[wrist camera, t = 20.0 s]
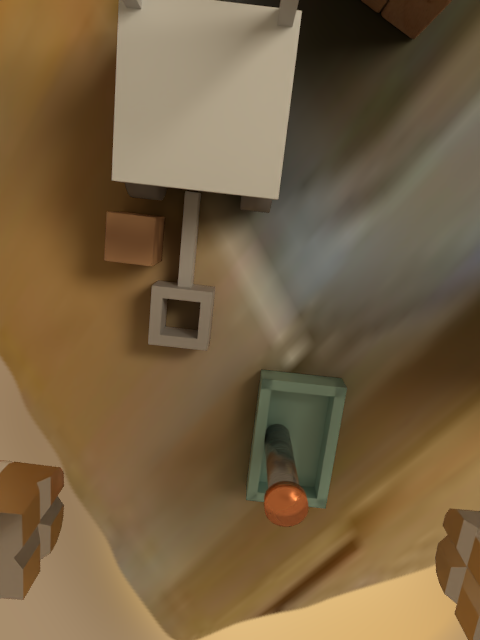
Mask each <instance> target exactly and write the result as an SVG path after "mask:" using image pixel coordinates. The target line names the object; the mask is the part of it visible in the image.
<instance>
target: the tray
mask: <svg viewBox="0 0 480 640" xmlns="http://www.w3.org/2000/svg"><path fill="white" fill-rule="evenodd" d="M346 391H347V387H346V385H345V384H344V382H343V380H342V378H334V377H325V376H316V375H306V374H297V373H288V372H279V371H270V370H261V375H260V383H259V390H258V398H257V406H256V414H255V421H254V429H253V437H252V445H251V452H250V460H249V468H248V476H247V483H246V500H250V501H260V502H264V495H265V493H266V491H267V489H268V481H267V468H266V455H265V443H264V440H265V433H266V429H267V428H268V427H269V426H271V425H273V424H281V425H283V426H285V427H286V428H287V429H288V431H289V433H290V438H291V444H292V449H293V454H294V459H295V465H296V470H297V475H298V481H299V485H300V486H301V487H302V488H303V489H304V491H305V493H306V496H307V501H308V506H309V507H316V508H326V503H327V497H328V492H329V486H330V480H331V475H332V469H333V464H334V458H335V453H336V447H337V442H338V436H339V430H340V425H341V419H342V414H343V408H344V403H345V397H346Z"/></svg>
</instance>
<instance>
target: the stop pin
mask: <svg viewBox="0 0 480 640" xmlns="http://www.w3.org/2000/svg"><path fill="white" fill-rule="evenodd" d="M264 443H265V455H266V468H267V481H268V489H267V491H266V493H265V495H264V509H265V514H266V516H267V518H268V519H269V520H270V521H271V522H273V523H274V524H276V525H279V526H284V527H289V526H294V525H296V524H298V523H300V522H301V521H302V520H304V518H305V517H306V515H307V513H308V509H309V506H308V501H307V496H306V493H305V491H304V489H303V488H302V487H301V486H300V485H299V481H298V475H297V470H296V465H295V459H294V454H293V449H292V444H291V438H290V433H289V431H288V429H287V428H286V427H285V426H283V425H281V424H273V425H271V426H269V427H268V428H267V429H266V433H265V440H264Z"/></svg>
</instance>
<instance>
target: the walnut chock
mask: <svg viewBox="0 0 480 640" xmlns="http://www.w3.org/2000/svg"><path fill="white" fill-rule="evenodd" d="M164 225H165V217H161V216H153V215H145V214H137V213H129V212H107V213H106V234H105V255H104V261H112V262H120V263H128V264H136V265H145V266H153V265H155V264H157V263H159V262H160V261H162V251H163V238H164Z"/></svg>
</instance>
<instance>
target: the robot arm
mask: <svg viewBox="0 0 480 640" xmlns="http://www.w3.org/2000/svg"><path fill="white" fill-rule="evenodd" d="M63 487H64V473H63V471H62V469H61V468H60V467H52V466H44V465H36V464H28V463H20V462H12V461H4V460H0V598H6V599H19V600H23V599H24V598H25V596H26V594H27V593H28V591H29V589H30V588H31V586H32V584H33V582H34V581H35V579H36V577H37V576H38V574H39V572H40V559H42V558H44V557H45V556H47V555H49V554H50V553H51V551H52V550H53V548H54V546H55V544H56V542H57V539H58V536H59V533H60V530H61V527H62V521H63V510H64V505H63V503H62V502H61V500H60V499H59V498H58V494H59V493H60V491H61V490H62V488H63ZM443 527H444V529H445V531H446V533H447V536H446V537H445V538H444V539H443V540H441V541H440V542H439V543H438V546H437V551H436V556H435V562H436V573H437V577H438V580H439V583H440V586H441V588H442V590H443V592H444V594H445V595H447V596H448V597H449V598H450V599H452V600H453V601H454V602H455V603H456V604H457V606H456V610H455V615H456V617H457V619H458V621H459V623H460V625H461V627H462V629H463V631H464V632H465V635H466V637H467V639H468V640H480V511H472V510H461V509H449V510H448V512H447V513H446V515H445V518H444V522H443Z"/></svg>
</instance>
